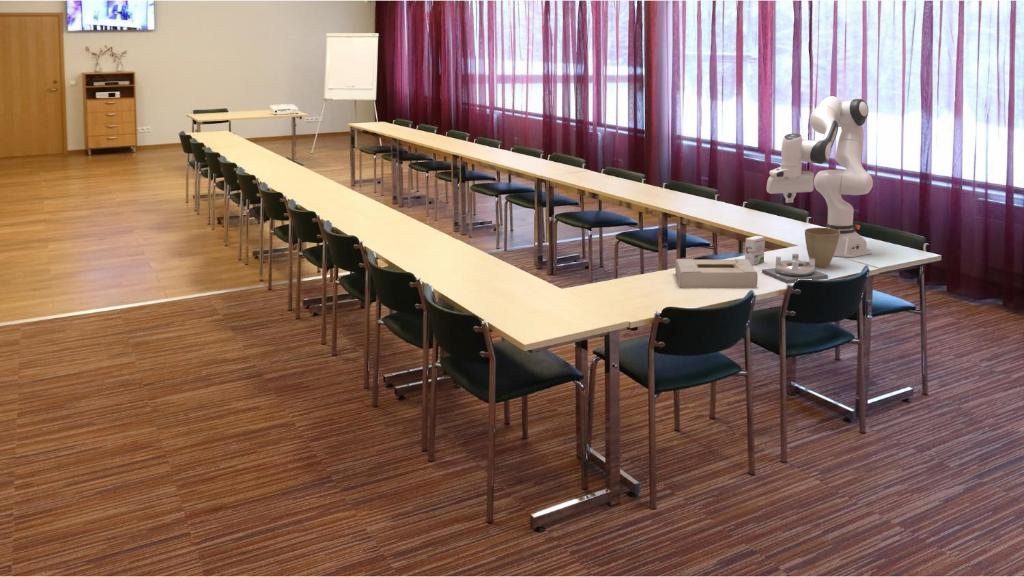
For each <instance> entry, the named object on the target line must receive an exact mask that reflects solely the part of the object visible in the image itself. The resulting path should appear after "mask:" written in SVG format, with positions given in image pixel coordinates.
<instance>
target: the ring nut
mask: <svg viewBox="0 0 1024 577" xmlns="http://www.w3.org/2000/svg"><path fill="white" fill-rule="evenodd" d="M791 256H792V257H791V258H792V259H790V260H789V259H788V260H782V256H777V255H776V256H775V267H774V268H775V271H776V272H777V273H779V274H782V275H787V276H809V275H812V274H814V270H815V268H816V267H815V258H810V260H809V261H804V260H799V257H800V256H799V253H792V255H791Z"/></svg>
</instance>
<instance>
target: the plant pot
mask: <svg viewBox="0 0 1024 577" xmlns="http://www.w3.org/2000/svg"><path fill="white" fill-rule="evenodd" d="M839 235H840V231H839V230H836V229H831V228H826V227H809V228H806V229H804V237H805V238H804V239H805V246H806V252H807V256H808V260H809V261H810V258H815V268H816V269H817V268H819V269H825V268H828V267H829V266H830V265H831V262H832V260H833V258H834V257H835V256H834V253H835V250H836V247H837V244H838V239H839Z"/></svg>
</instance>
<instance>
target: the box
mask: <svg viewBox="0 0 1024 577" xmlns="http://www.w3.org/2000/svg"><path fill="white" fill-rule="evenodd" d="M674 267H675V269H674V270H675V276H676V278H677V281H678V285H679V287H680V288H757V287H758V277H759V276H758V271H756V270H755V268H754V265H751V263H750V261H749V260H748V259H745V258H734V259H693V258H677V259H676V260H675V266H674Z"/></svg>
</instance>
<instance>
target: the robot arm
mask: <svg viewBox="0 0 1024 577" xmlns="http://www.w3.org/2000/svg"><path fill="white" fill-rule="evenodd" d="M868 115H869V106H868V104H867V102H866V101H865V100H864V99H862V98H854V99H850V100H844V101H841V99H840V98H839V97H836V96H833V95H831V96H826V97H825V98H823V99H822V100H821V101H820V102H819V103H818V105H816V107H814V109H813V111H812V113H811V114H810V117H809V124H810V126H811V127H812V129H813V130H814V131H815V132H817V133H819V134H821V135H823V137H822V139H819V140H818V139H817V140H813V139H804V138H803V137H802V135H801V134H800V133H796V132H795V133H788V134H785V135H784V137H783V139H782V143H781V152H780V153H781V154H780V156H781V163H780V166H778V167H777V168H776V167H775V168H774V169H771V170H769V175H770V176H769V177H768V179H767V182H766V192H767V193H768V194H770V195H772V194H774V195H776V194H783V197H784V198H785V203H786V204H790V203H791V204H793V203H794V199H795V197H796V196H797V193H811V192H813V191H814V188H815V190H816V191H817V192H818V193H819V194H820V195H821V196H822V197H823V199H825V202H826V205H827V222H826V227H825V228H831V229H836V230H839V231H840V235H839V239H838V244H837V247H836V250H835V253H834V256H833V257H840V258H841V257H843V258H854V257H860V256H866V255H871V254H872V250H871V249H869V248H867V241H866V239H865V238H864V237H863V236H861V235H860V234H859V233H857V231H856V230H860V228H861V225H859V224H854V207H853V205H852V204H850V203H849V202H847V201H846V200H844V199H843V197H842V195H846V196H847V195H848V196H849V195H850V196H861V195H867V194H868V193H870V192H871V190H872V188H873V187H874V186H873V184H874V182H873V177H872V175H871V174H870V173H869V172H868V171H867V170H865V168H864V167H863V164H862V152H863V146H864V139H865V138H864V137H865V136H864V135H865V133H864V127H863V125H864V124H865V123H866V120H867V117H868ZM839 128H840V129H841V132H840V134H839V138H838V141H837V146H836V152H835V162H837V163H838V164H839V165H840V166H841V167H843V168H844V170H842V169H841V170H839V169H826V170H825V169H824V170H819V171H818V172H817V173H816V174H815V173H814V172H813V171H812V170H802V167H803V165H802V164H803V163H813V164H816V165H817V164H818V165H823V164H825V163H826V162H827V161H828V160H829V159H830V157H831V152H832V148H833V147H834V146H833V145H834V142H835V141H836V137H837V135H838V131H839ZM802 162H803V163H802ZM789 194H791V197H789Z"/></svg>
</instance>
